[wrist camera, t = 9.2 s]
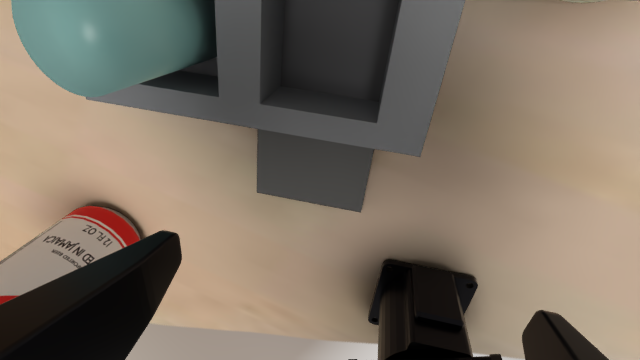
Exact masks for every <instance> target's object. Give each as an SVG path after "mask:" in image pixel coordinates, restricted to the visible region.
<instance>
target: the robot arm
mask: <svg viewBox="0 0 640 360" xmlns="http://www.w3.org/2000/svg"><path fill="white" fill-rule="evenodd" d="M181 260H182V254H181V246H180V239H179V235H178V234H177V233H174V232H170V231H164V230H163V231H159V232H157V233H155V234H153V235H150V236H148V237H146V238H144V239H142V240H139V241H137V242H135V243H133V244H131V245H129V246H126V247H124V248H122V249H120V250H118V251H115V252H113V253H111V254H109V255H107V256H105V257H102V258H100V259H98V260H96V261H94V262H92V263H89V264H87V265H85V266H83V267H81V268H78V269H76V270H74V271H72V272H70V273H68V274H65V275H63V276H61V277H59V278H57V279H54V280H52V281H50V282H48V283H46V284H44V285H41V286H39V287H37V288H35V289H33V290H30V291H28V292H26V293H24V294H22V295H20V296H17V297H15V298H13V299H11V300H9V301H6V302H4V303H2V304H0V360H125V359H126V357H127V356H128V354H129V353H130V351H131V350H132V348H133V347H134V345H135V344H136V342H137V341H138V339H139V338H140V336H141V335H142V333H143V331H144V330H145V328H146V327H147V325H148V324H149V322H150V321H151V319H152V317H153V316H154V314H155V312H156V310H157V308H158V306H159V305H160V303H161V301H162V299H163V297H164V295H165V293H166V291H167V289H168V287H169V285H170V283H171V281H172V279H173V278H174V276H175V274H176V272H177V270H178V268H179V266H180V264H181ZM388 266H391V268H388ZM468 283H471V284H468ZM477 287H478V284H477V281H476V279H475V278H474V277H472V276H467V275H462V274H457V273H453V272H448V271H443V270H438V269H433V268H428V267H423V266H418V265H414V264H409V263H404V262H399V261H394V260H385V261H384V262H383V264H382V267H381V271H380V275H379V278H378V282H377V286H376V289H375V293H374V297H373V300H372V304H371V308H370V311H369V317H368V320H369V322H370V323H372V324H375V325H379V338H378V360H502V358H501V355H500V354H490V356H484V357H473V354H472V350H471V345H470V341H469V337H468V332H467V328H466V324H465V320H464V314H465V312H466V310H467V307H468V305H469V303H470V301H471V299H472V297H473V295H474V293H475V291H476V289H477ZM522 343H523V348H524V354H525V360H609V359H608V358H607V357H606V356H604V355H603V354H602V353H601V352H600V351H599V350H598V349H597V348H596V347H595V346H594V345H592V344H591V343H590V342H589V341H588V340H587V339H586V338H585V337H584V336H583V335H582V334H580V333H579V332H578V331H577V330H576V329H575V328H574V327H573V326H572V325H571V324H570V323H569V322H567V321H566V320H565V319H564V318H563V317H562V316H561V315H559V314H557V313H554V312H549V311H544V310H539V311H537V312H536V313H535V314H534V316H533V317H532V319H531V320H530V322H529V323H528V325H527V326H526V328H525V330H524V332H523V335H522ZM349 360H357V359H349Z"/></svg>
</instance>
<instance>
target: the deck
mask: <svg viewBox="0 0 640 360" xmlns="http://www.w3.org/2000/svg"><path fill="white" fill-rule="evenodd" d="M373 151H374V149H371V148H366V147H360V146H354V145H348V144H342V143H337V142H331V141H325V140H319V139H313V138H308V137H302V136H296V135H290V134H284V133H279V132H273V131H267V130H261V129H258V147H257V193H262V194H268V195H273V196H278V197H283V198H288V199H294V200H299V201H304V202H309V203H314V204H320V205H325V206H330V207H335V208H340V209H345V210H351V211H356V212H361V209H362V205H363V200H364V195H365V190H366V185H367V180H368V176H369V171H370V166H371V161H372V156H373Z"/></svg>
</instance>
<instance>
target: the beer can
mask: <svg viewBox="0 0 640 360" xmlns="http://www.w3.org/2000/svg"><path fill="white" fill-rule="evenodd" d="M139 240H141V238H140V235H139V232H138V230H137V229H136V227H135V226H134V224H133V223H132V222H131V221H130V220H129V219H128V218H127V217H125V216H124V215H122V214H121V213H119V212H117V211H115V210H112V209H110V208H104V207H97V206H86V207H81V208H78V209H76V210H74V211H73V212H71V213H70V214H68V215H67V216H65V217H64V218H62V219H61V220H60V221H58V222H57V223H55V224H54V225H52V226H51V227H49V228H48V229H47V230H45V231H44V232H42V233H41V234H39V235H38V236H36V237H35V238H34V239H32V240H31V241H29V242H28V243H26V244H25V245H23V246H22V247H21V248H19V249H18V250H16V251H15V252H13V253H12V254H10V255H9V256H8V257H6V258H5V259H3V260H2V261H0V304H2V303H4V302H6V301H9V300H11V299H13V298H15V297H17V296H20V295H22V294H24V293H26V292H28V291H30V290H33V289H35V288H37V287H39V286H41V285H44V284H46V283H48V282H50V281H52V280H54V279H57V278H59V277H61V276H63V275H65V274H68V273H70V272H72V271H74V270H76V269H78V268H81V267H83V266H85V265H87V264H89V263H92V262H94V261H96V260H98V259H100V258H102V257H105V256H107V255H109V254H111V253H113V252H115V251H118V250H120V249H122V248H124V247H126V246H129V245H131V244H133V243H135V242H137V241H139Z"/></svg>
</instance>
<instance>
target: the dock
mask: <svg viewBox="0 0 640 360" xmlns="http://www.w3.org/2000/svg"><path fill="white" fill-rule="evenodd" d="M464 3H465V0H215V20H216V42H217V57H216V58H213V59H211V60H208V61H205V62H202V63H199V64H196V65H193V66H190V67H187V68H184V69H181V70H178V71H175V72H172V73H169V74H166V75H163V76H160V77H157V78H154V79H151V80H148V81H145V82H142V83H139V84H136V85H133V86H130V87H127V88H124V89H121V90H118V91H115V92H112V93H109V94H106V95H103V96H99V97H86V99H87V100H93V101H99V102H104V103H110V104H116V105H122V106H128V107H133V108H139V109H145V110H151V111H157V112H162V113H168V114H174V115H180V116H186V117H191V118H197V119H203V120H209V121H215V122H220V123H226V124H232V125H238V126H244V127H250V128H255V129H261V130H267V131H273V132H279V133H284V134H290V135H296V136H302V137H308V138H313V139H319V140H325V141H331V142H337V143H342V144H348V145H354V146H360V147H366V148H371V149H377V150H383V151H389V152H395V153H400V154H406V155H412V156H418V157H420V156H421V152H422V149H423V145H424V142H425V138H426V135H427V132H428V128H429V125H430V121H431V118H432V114H433V111H434V107H435V104H436V100H437V97H438V93H439V90H440V86H441V83H442V79H443V76H444V72H445V69H446V65H447V62H448V58H449V55H450V52H451V48H452V45H453V41H454V38H455V34H456V31H457V27H458V24H459V20H460V17H461V13H462V10H463V6H464Z"/></svg>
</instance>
